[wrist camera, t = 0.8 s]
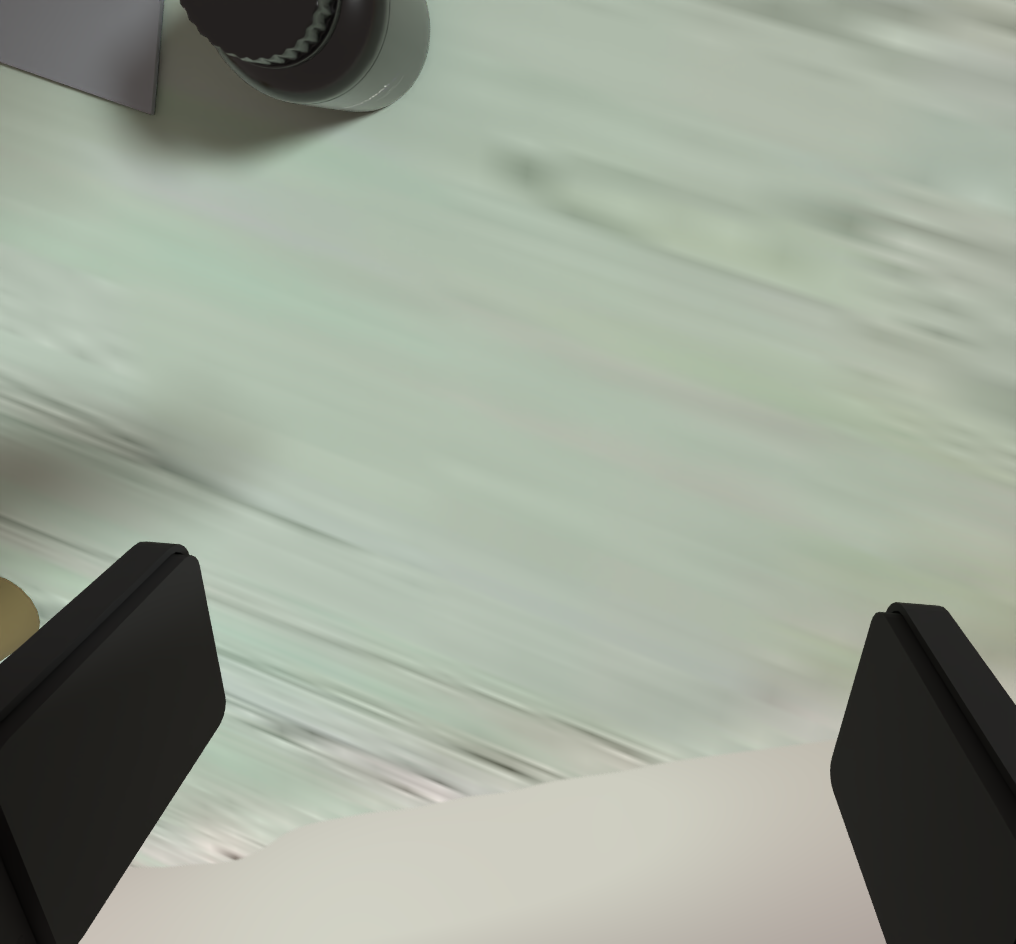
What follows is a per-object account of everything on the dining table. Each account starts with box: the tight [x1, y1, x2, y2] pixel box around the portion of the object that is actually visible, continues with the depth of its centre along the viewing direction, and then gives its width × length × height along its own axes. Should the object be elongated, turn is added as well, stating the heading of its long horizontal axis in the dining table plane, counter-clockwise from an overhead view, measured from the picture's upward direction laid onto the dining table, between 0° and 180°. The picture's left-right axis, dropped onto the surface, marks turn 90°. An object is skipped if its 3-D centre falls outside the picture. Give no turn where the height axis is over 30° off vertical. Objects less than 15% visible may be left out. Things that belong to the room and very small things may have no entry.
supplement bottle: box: [180, 0, 430, 112], centre depth 27 cm, size 7×7×12 cm
